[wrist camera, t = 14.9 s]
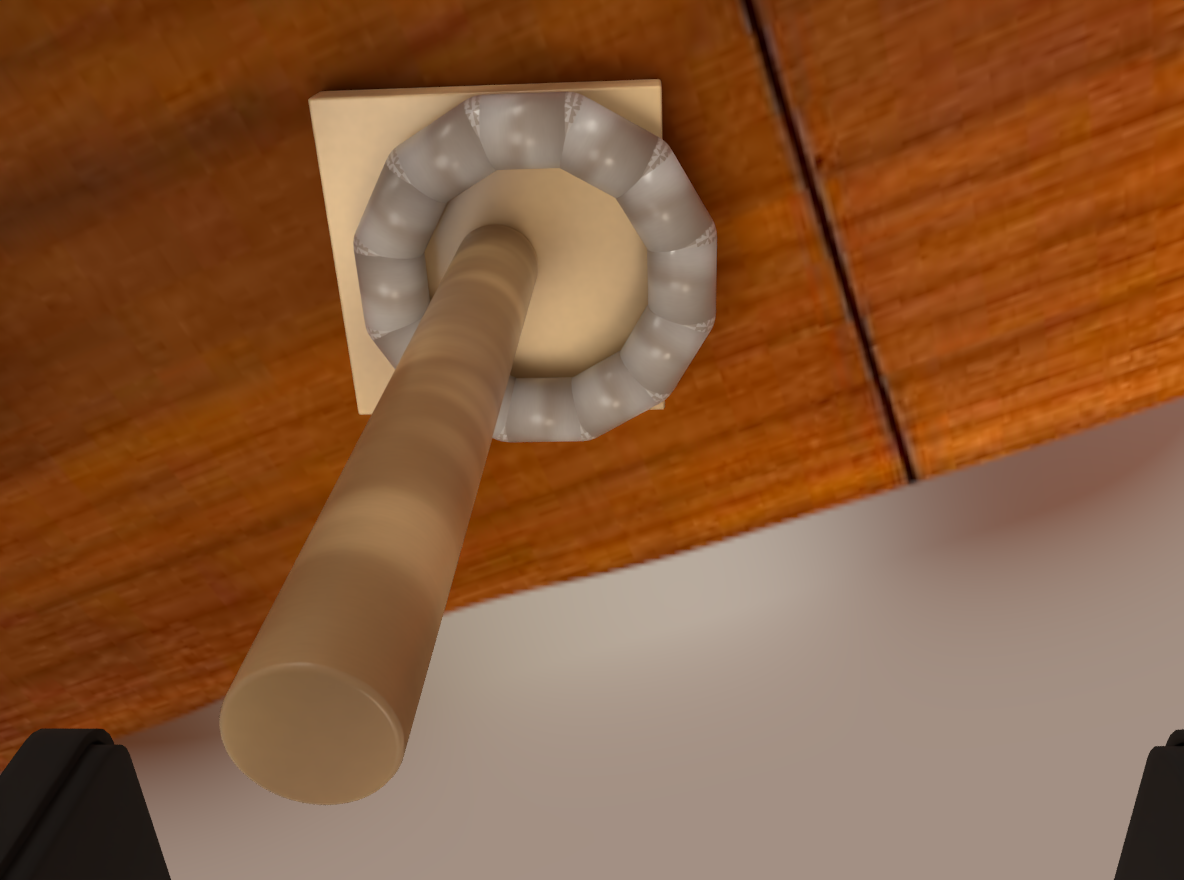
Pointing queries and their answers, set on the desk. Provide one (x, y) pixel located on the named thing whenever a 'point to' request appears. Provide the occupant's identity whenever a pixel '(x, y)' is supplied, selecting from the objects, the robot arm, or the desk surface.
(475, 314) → the wooden peg stand
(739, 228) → the desk surface
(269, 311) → the desk surface
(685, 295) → the ring
